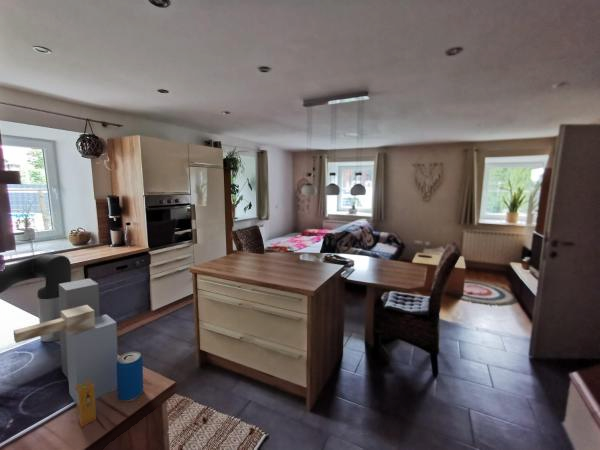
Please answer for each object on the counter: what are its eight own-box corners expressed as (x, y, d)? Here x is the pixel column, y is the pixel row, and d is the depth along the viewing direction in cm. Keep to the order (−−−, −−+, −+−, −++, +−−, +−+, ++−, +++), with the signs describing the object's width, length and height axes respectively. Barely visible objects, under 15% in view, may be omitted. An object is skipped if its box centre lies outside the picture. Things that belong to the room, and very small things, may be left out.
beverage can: (135, 384, 86) (134, 348, 85) (147, 392, 83) (147, 355, 81) (113, 397, 81) (111, 358, 79) (125, 406, 77) (123, 366, 76)
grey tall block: (69, 393, 81) (65, 325, 79) (108, 376, 89) (106, 314, 87) (78, 406, 76) (74, 335, 74) (118, 387, 84) (116, 322, 82)
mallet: (18, 350, 66) (16, 331, 66) (13, 341, 70) (11, 323, 69) (95, 327, 79) (94, 310, 78) (87, 320, 82) (86, 304, 81)
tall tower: (62, 370, 91) (56, 282, 87) (91, 359, 97) (87, 277, 93) (73, 387, 84) (68, 292, 80) (104, 374, 90) (100, 285, 86)
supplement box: (92, 413, 75) (90, 378, 73) (96, 419, 73) (94, 384, 71) (76, 420, 72) (74, 385, 71) (80, 428, 70) (79, 391, 69)
